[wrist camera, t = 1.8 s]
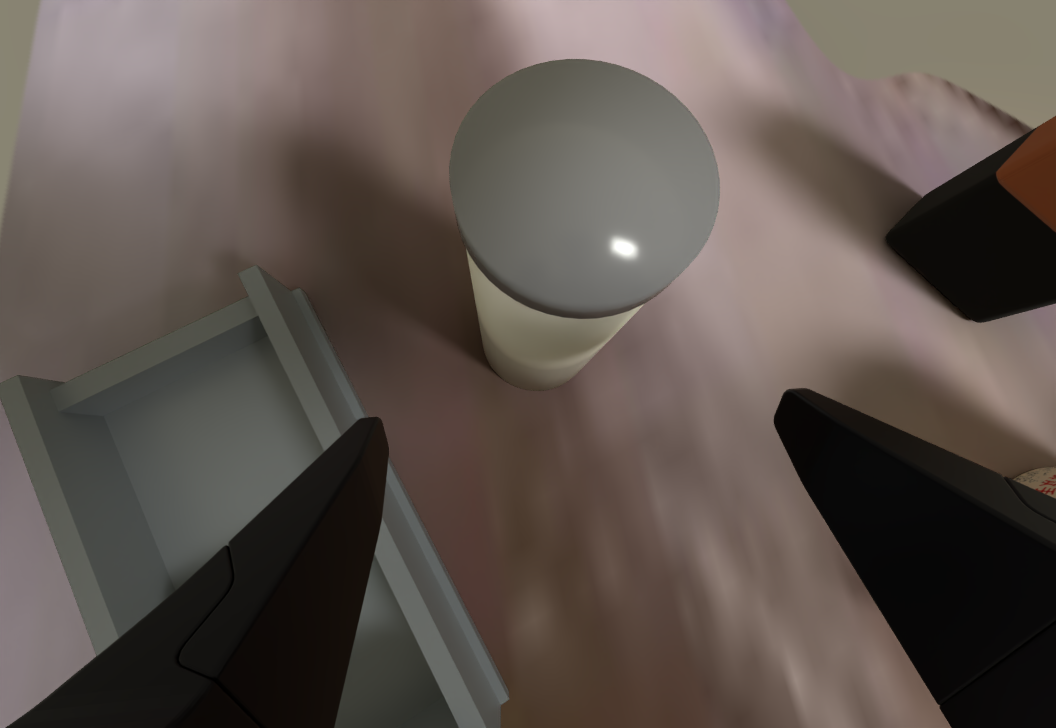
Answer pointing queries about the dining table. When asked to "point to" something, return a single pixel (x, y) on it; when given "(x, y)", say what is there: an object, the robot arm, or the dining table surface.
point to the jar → (575, 210)
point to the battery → (990, 231)
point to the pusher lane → (239, 495)
